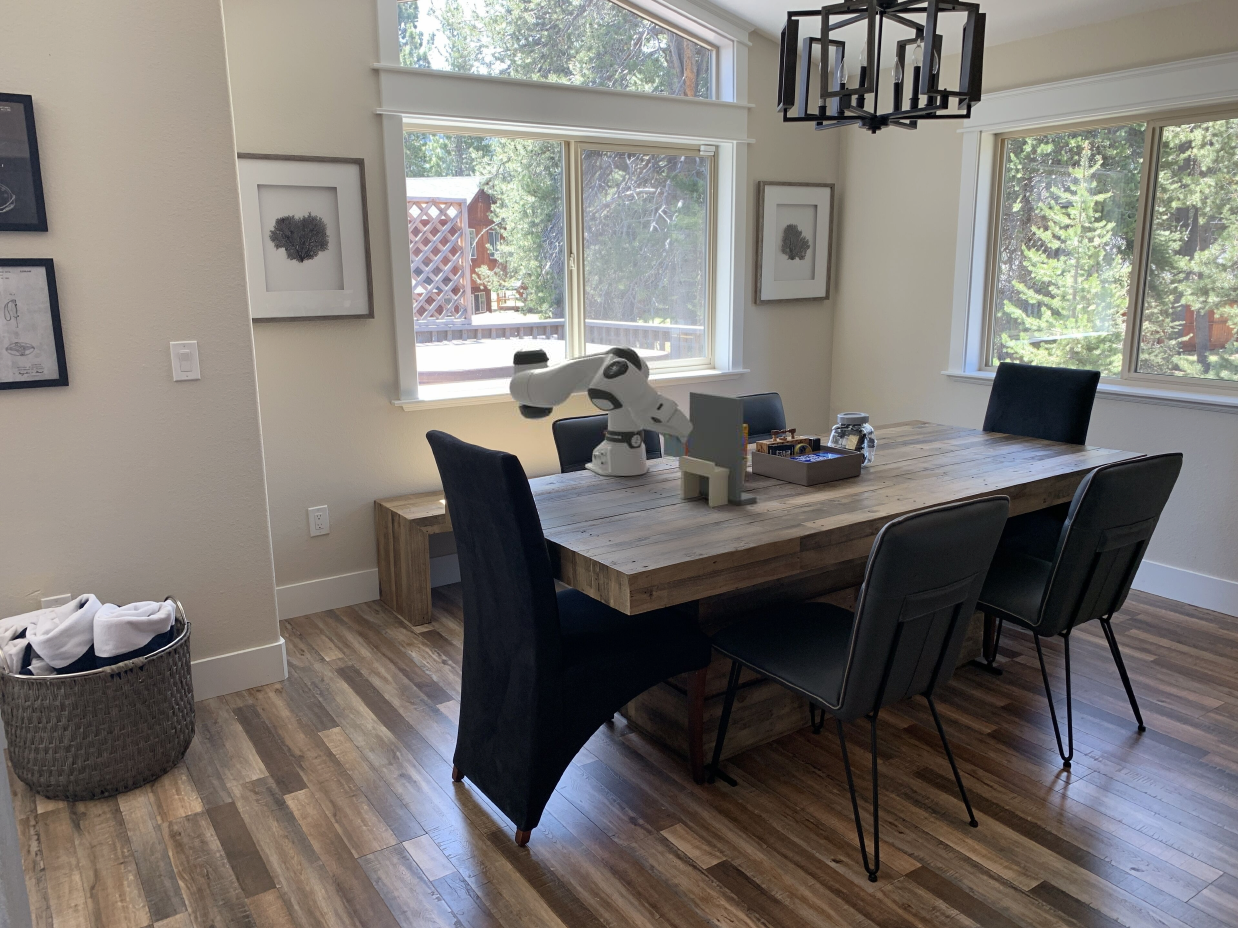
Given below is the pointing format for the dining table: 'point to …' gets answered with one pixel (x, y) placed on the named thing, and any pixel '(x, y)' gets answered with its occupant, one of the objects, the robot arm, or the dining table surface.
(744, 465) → the flower pot
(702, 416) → the wall board
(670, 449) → the small cabinet
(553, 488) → the dining table surface
